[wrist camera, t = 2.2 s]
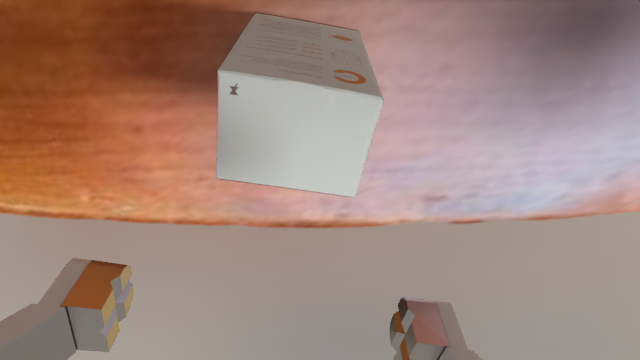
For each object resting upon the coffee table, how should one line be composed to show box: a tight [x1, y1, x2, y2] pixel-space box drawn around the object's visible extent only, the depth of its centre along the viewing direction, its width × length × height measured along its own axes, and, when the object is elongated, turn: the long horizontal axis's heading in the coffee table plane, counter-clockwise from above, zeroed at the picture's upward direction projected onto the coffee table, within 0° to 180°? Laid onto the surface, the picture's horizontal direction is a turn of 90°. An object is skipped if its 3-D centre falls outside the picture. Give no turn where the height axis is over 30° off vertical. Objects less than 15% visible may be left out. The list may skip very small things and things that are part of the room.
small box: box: [216, 13, 384, 198], centre depth 25 cm, size 8×6×13 cm
